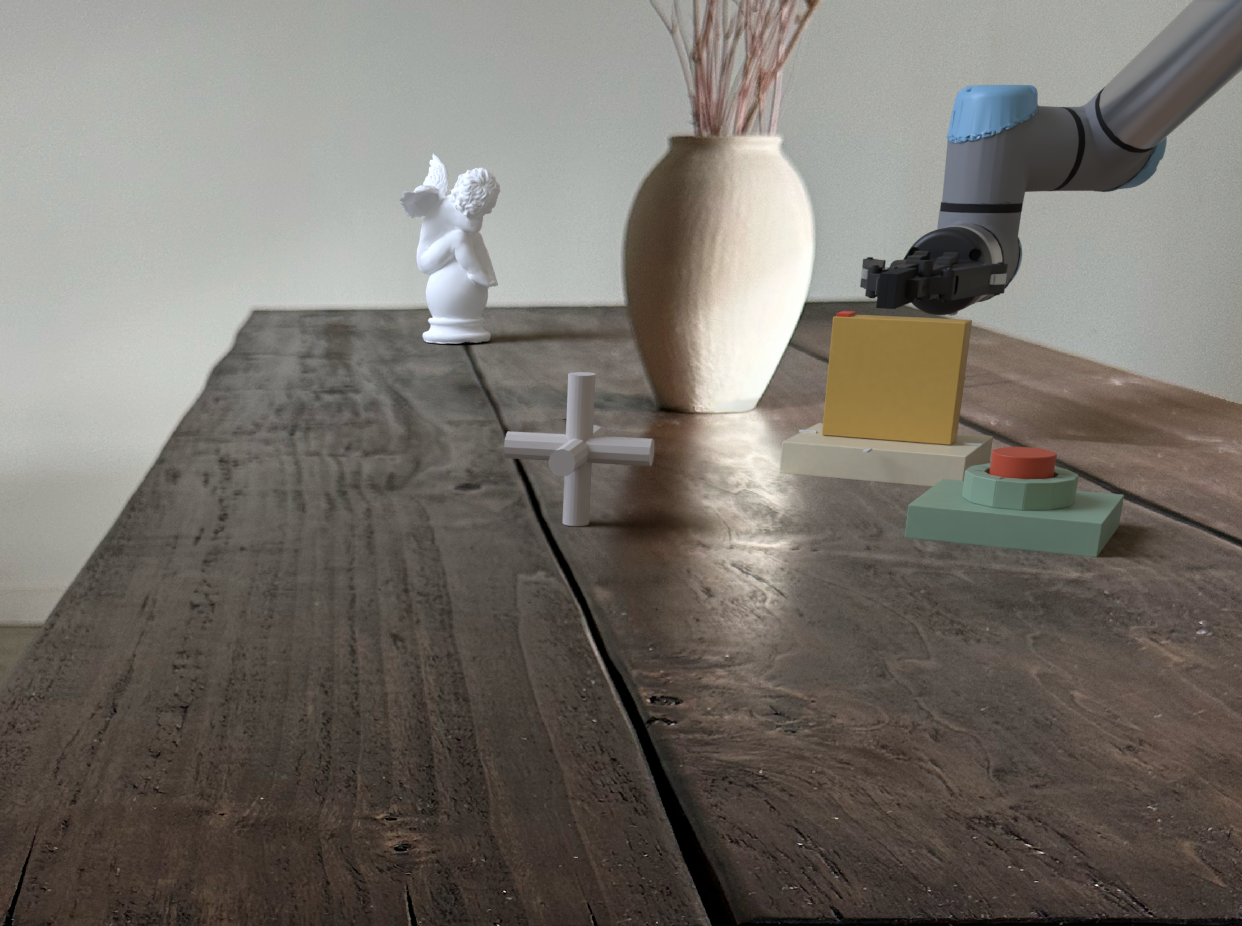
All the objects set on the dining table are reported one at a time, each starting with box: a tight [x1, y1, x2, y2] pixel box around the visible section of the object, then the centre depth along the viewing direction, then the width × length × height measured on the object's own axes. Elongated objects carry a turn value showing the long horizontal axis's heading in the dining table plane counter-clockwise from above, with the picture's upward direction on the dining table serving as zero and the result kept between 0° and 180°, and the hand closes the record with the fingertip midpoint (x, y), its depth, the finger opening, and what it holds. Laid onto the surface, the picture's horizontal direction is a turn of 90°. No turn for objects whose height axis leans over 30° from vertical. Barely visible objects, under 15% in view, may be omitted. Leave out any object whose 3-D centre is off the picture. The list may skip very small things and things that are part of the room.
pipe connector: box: [503, 371, 655, 527], centre depth 114 cm, size 10×10×10 cm
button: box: [989, 446, 1057, 479], centre depth 111 cm, size 4×4×2 cm
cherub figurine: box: [399, 152, 501, 345], centre depth 209 cm, size 12×12×22 cm
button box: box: [904, 462, 1125, 558], centre depth 112 cm, size 12×10×4 cm
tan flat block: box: [822, 310, 973, 445], centre depth 130 cm, size 10×2×9 cm, turn 61°
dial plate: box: [779, 422, 994, 488], centre depth 133 cm, size 14×14×3 cm
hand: (887, 291), depth 137 cm, fingers closed
